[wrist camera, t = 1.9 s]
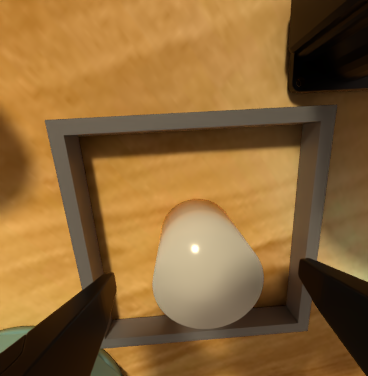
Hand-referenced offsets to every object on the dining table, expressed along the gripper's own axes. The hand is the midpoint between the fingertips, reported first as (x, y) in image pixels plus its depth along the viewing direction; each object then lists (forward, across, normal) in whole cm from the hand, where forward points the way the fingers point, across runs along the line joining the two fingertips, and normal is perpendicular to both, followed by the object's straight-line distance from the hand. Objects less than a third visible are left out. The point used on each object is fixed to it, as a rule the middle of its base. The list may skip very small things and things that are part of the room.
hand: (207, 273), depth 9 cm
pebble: (+4, 0, 0) cm, 4 cm away
